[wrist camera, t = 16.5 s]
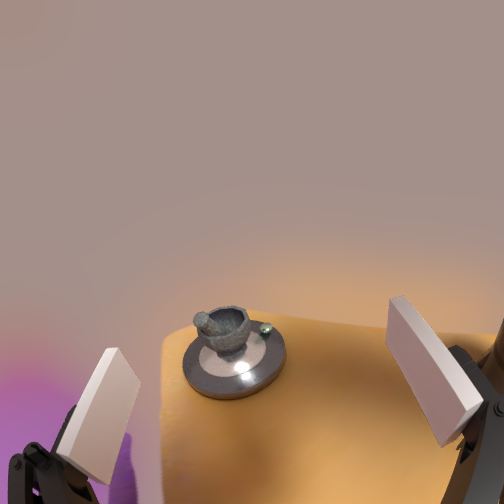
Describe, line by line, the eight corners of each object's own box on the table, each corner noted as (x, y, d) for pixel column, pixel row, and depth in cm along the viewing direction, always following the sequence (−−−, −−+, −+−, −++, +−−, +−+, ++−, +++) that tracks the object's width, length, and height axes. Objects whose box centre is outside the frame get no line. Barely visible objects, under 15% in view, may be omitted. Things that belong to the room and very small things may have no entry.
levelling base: (281, 325, 60) (278, 309, 58) (293, 394, 41) (290, 378, 40) (195, 339, 61) (189, 324, 59) (181, 407, 43) (171, 392, 41)
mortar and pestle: (221, 330, 56) (205, 282, 52) (263, 334, 53) (250, 282, 48) (195, 367, 47) (172, 317, 43) (240, 376, 43) (221, 323, 39)
